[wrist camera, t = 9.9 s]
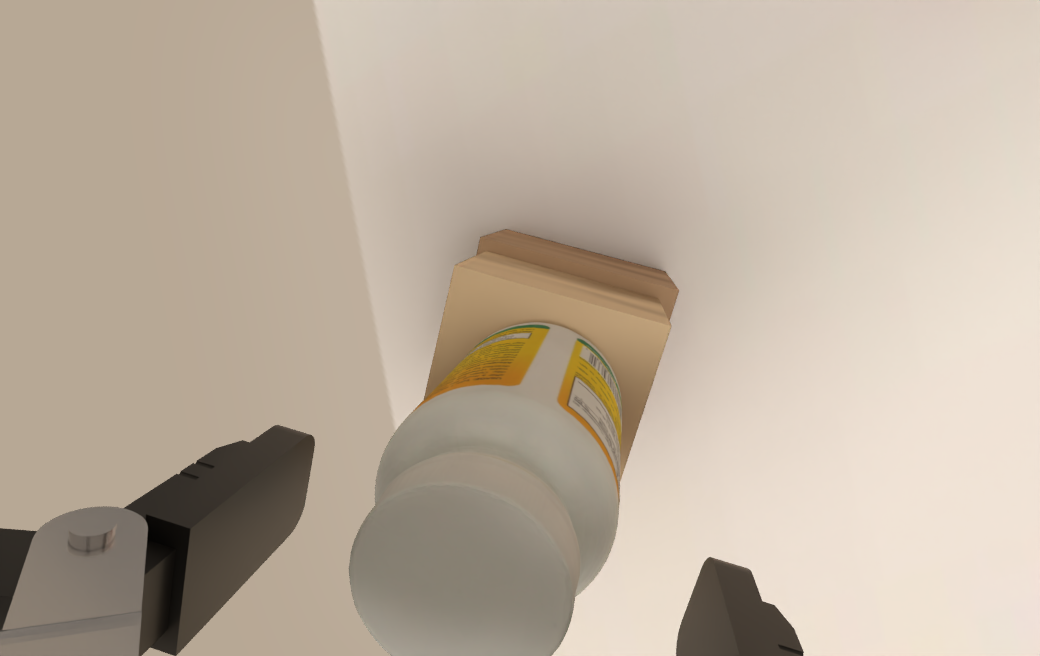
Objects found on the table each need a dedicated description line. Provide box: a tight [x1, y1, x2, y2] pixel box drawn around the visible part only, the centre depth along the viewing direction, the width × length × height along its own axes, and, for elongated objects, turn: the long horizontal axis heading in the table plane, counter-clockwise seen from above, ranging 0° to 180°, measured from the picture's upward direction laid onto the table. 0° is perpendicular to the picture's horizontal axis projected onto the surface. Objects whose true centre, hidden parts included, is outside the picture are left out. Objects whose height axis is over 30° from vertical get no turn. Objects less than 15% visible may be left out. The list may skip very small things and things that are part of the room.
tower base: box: [476, 229, 679, 320], centre depth 27 cm, size 8×8×6 cm
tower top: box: [424, 251, 671, 480], centre depth 22 cm, size 7×7×5 cm
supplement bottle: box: [349, 322, 622, 656], centre depth 15 cm, size 5×5×10 cm
